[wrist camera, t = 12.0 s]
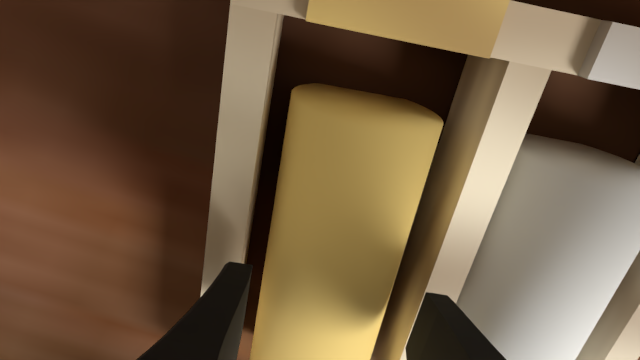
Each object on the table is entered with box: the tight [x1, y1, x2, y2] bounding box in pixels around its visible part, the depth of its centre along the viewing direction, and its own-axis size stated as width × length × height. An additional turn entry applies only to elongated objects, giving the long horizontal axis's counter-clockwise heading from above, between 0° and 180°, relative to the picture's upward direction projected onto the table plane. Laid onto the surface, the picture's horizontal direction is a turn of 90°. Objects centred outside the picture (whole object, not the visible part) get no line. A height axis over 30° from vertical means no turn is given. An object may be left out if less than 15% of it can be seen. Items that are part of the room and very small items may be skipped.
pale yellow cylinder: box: [250, 83, 444, 360], centre depth 13 cm, size 10×4×4 cm, turn 170°
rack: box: [200, 0, 640, 360], centre depth 13 cm, size 14×14×3 cm
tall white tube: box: [456, 134, 640, 360], centre depth 14 cm, size 10×4×4 cm, turn 169°
